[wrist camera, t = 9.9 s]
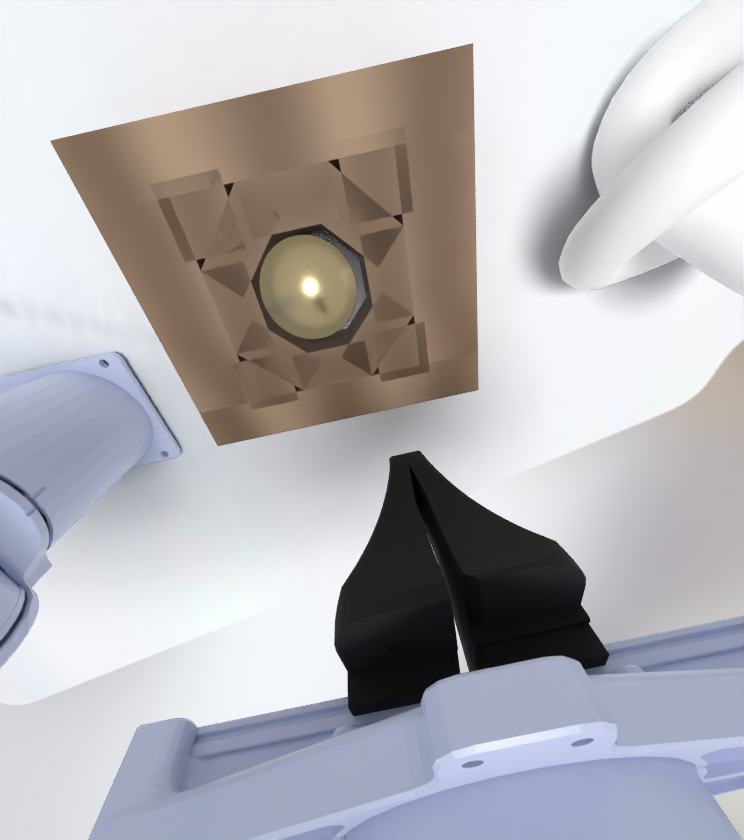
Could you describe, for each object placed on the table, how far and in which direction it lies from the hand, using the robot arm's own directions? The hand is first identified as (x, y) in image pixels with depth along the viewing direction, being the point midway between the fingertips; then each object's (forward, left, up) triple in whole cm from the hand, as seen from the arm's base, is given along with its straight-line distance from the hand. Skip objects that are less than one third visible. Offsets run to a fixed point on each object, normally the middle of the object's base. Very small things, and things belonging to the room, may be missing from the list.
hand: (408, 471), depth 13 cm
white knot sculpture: (+15, +8, -10) cm, 20 cm away
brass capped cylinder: (-3, +8, -10) cm, 12 cm away
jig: (-3, +7, -10) cm, 12 cm away
